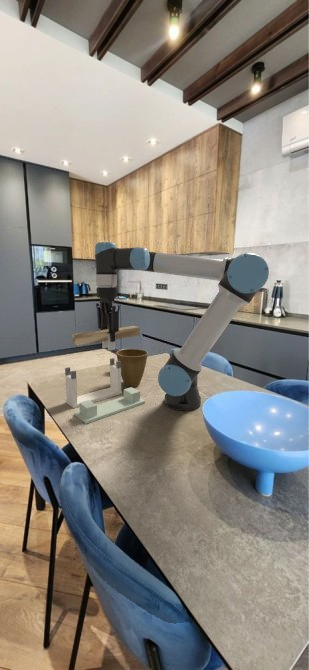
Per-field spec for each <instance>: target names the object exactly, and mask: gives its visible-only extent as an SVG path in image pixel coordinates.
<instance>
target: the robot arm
mask: <svg viewBox="0 0 309 670" xmlns="http://www.w3.org/2000/svg"><path fill="white" fill-rule="evenodd" d="M94 246H95V247H94V259H95V285H96V286H97V287H96V297H97V298H98V299H99V302H98V303H95V306H96V312H97V327H98V328H97V329H99V330H107V329H109V332H107V333H108V341H103V342H101V343H102V349H107V351H113V350H114V351H115V350H116V339H115V333H116V332H118V331H119V328H120V323H119V322H120V321H119V320H120V308H121V307H120V306H121V305H119V304H116V300H115V299H116V298H117V297H118V288H117V287H116V286H117V285H118V282H117V281H118V277H117V276H118V275H117V273H118V271H141V272H149V273H157V274H158V273H159V274H166V275H173V276H180V277H188V278H195V279H201V280H203V279H204V280H211V281H217V282H218V284H217V286H218V292H217V294H216V296H215V297H214V298H213V300H212V301H211V303H210V304H209V306H208V308H207V309H206V311H205V312H204V313H203V315H202V316H201V318H200V319H199V320H198V322H197V324H196V325H195V326H194V328H193V330H192V331H191V332H190V335H189V336H188V337H187V339H186V340H185V342H184V343H183V345H182V346H181V347H180V348H179V347H177V348H172V349H170V350H169V358H168V359H167V361H166V363H165V364H164V365H163V367H161V368H160V370H159V372H158V375H157V382H158V385H159V387H160V388H161V390H162V391H163V392H164V393H165V394H164V400H163V401H164V404H165V406H167V407H168V408H170V409H173V410H177V411H193V410H195V409H196V410H197V409H198V408H200V406H201V405H202V398H201V395H200V391H199V387H198V380H199V379H198V378H199V376H198V375H199V374H200V373H201V371H202V370H203V366H202V362H203V361H204V359H205V358H206V357H207V355H208V354H209V352H210V351H211V349H212V348H213V347H214V345H216V343H217V341H218V340H219V338H220V337H221V335H222V334H223V332H224V331H225V330H226V328H227V327H228V325H229V324H230V322H231V321H232V320H233V319H234V317H235V316H236V314H237V313H238V311H239V310H240V309H241V307H242V306H244V305H249V304H251V301H252V300H253V299H254V298H255V296H256V295H257V293H258V292H259V290H261V289H262V288H263V287H265V285H266V283H267V282H268V279H269V276H270V275H269V274H270V270H269V269H270V268H269V265H268V263H267V261H266V260H265V259H264V258H263V256H261V255H259V254H256V253H253V252H245V253H241V254H239V255H238V256H236V257H227V256H226V257H225V258H223V259H219V258H218V259H217V258H211V257H200V256H192V255H190V256H189V255H184V254H176V253H175V254H173V253H163V252H156V251H155V252H154V251H149V250H148V248H146V247H139V246H138V247H137V246H136V247H119V248H118V247H117V244H116V243H115V242H111V241H107V242H106V241H102V242H101V241H100V242H97V243H95V245H94Z"/></svg>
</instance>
